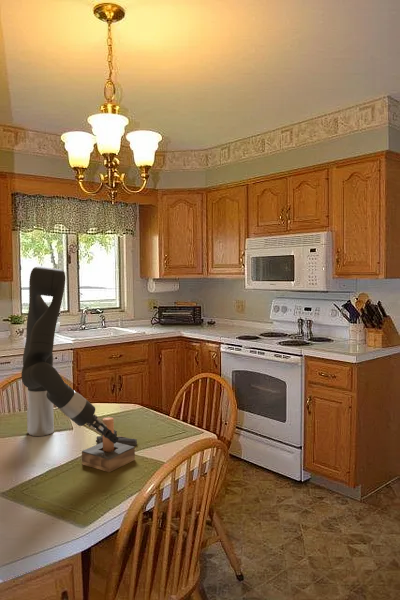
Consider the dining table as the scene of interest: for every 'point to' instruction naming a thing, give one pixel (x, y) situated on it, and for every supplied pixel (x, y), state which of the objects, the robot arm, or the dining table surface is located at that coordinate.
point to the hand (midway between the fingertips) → (114, 439)
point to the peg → (107, 444)
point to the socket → (108, 456)
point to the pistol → (119, 440)
